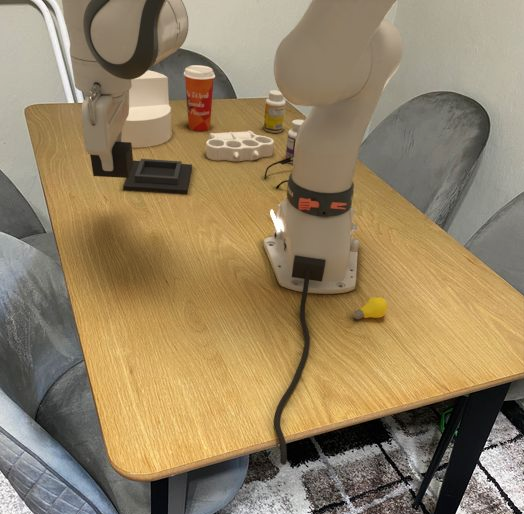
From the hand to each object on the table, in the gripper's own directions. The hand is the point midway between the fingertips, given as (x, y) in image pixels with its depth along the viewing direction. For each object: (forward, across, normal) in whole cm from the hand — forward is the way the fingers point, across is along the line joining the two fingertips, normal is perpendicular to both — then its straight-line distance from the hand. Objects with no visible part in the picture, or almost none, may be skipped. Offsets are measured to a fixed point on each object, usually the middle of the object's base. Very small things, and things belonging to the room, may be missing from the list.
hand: (112, 160), depth 92 cm
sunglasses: (+15, +29, -35) cm, 48 cm away
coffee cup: (+14, +61, -12) cm, 63 cm away
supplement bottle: (+14, +62, -32) cm, 72 cm away
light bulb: (+15, -23, -45) cm, 53 cm away
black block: (+2, 0, 0) cm, 2 cm away
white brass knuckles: (+14, +44, -22) cm, 52 cm away
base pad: (+14, +26, -4) cm, 30 cm away
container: (+14, +53, +6) cm, 55 cm away
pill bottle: (+15, +41, -37) cm, 58 cm away
